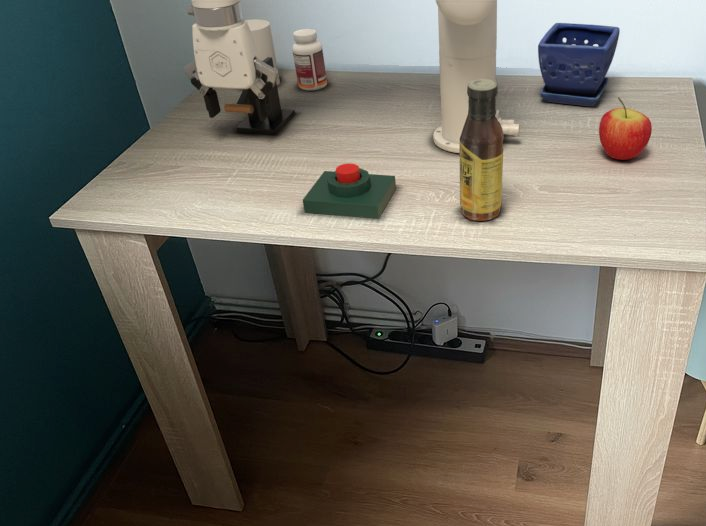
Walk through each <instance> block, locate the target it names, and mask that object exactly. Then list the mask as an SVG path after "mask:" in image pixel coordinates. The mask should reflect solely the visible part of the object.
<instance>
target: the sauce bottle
mask: <svg viewBox="0 0 706 526" xmlns="http://www.w3.org/2000/svg"><path fill="white" fill-rule="evenodd" d="M467 95H468V97H469V100H468V103H469V109H468V115H467V118H466V121H465V124H464V127H463V130H462V133H461V136H460V146H459V148H460V153H459V204H460V212H461V214H462V215H463V216H464V217H465V218H467V219H468V220H470V221H479V222H483V221H485V222H486V221H490V220H493V219H496V218H497V217H498V216H499V214H500V212H501V205H502V195H503V172H504V170H503V169H504V167H503V166H504V148H503V147H504V144H503V143H504V139H503V130H502V127H501V125H500V122H498V120H497V118H496V116H495V115H496V110H497V109H496V103H497V96H498V83H497V81H496V82H495V81H493V80H489V79H476V80H473V81H471V82H470V83H468V86H467Z"/></svg>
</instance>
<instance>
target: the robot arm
mask: <svg viewBox="0 0 706 526" xmlns="http://www.w3.org/2000/svg"><path fill="white" fill-rule="evenodd" d="M190 1H191V6H190V5H188V6H187V8H186V12H187V15H188V16H192V17H193V18H194V22H195V23H193V24H192V25H191V27H192V29H191V30H192V32H191V33H192V46H193V47H192V48H193V56H194V60H193V61H192V62H190V63H189V64H187V65H185V66H184V67H183V69H182V71H183V72H184V74H185V75H186V77H187V78H188V80H190V83H191V85H192V86H193V87H195V88H196V90H198V93H199V95H200V96H203V101H204V104H205V109H206V111H207V112H208V113H207V114H208V117H209V118H212V119H214V118H215V117H216V116H218V115H219V114H220V113H221V111H222V110H221V106H220V105H221V104H220V101H219V97H218V92H217V90H216V89H227V90H230V89H231V90H243V89H249V88H250V89H251V90H252V91H253V92H254V93H255V94H256V95H257V96H258V98H257V99H256V105H257V110H258V115H259V120H260V121H264V120H265V119H266V118H267V117H268V116H269V115H270V113H271V108H270V102H269V97H268V93H270V91H271V90H272V88H273V87H274V86H275V84H276V80H277V77H278V74H280V72H279V70H277V69H278V68H277V69H275V68H273V67H271V66H269V65H268V64H266V63H264V62H262V61H261V60H259V57H258V53H257V49H256V46H255V42H254V39H253V36H252V33H251V31H250V28H249V26H248V24H247V21H245V20H244V17H243V11H242V6H241V1H240V0H190ZM435 3H436V5H437V17H438V20H437V21H438V24H437V25H438V57H439V59H438V60H439V61H438V63H439V87H440V89H439V91H440V92H439V93H440V114H441V116H440V117H441V118H440V120H441V125H440V126H438V127H437V128H436V129H435V130H434V132H433V134H432V137H433V143H434V145H435V146H437V147H438V148H439V149H442V150H443V151H446V152H450V153H454V154H460V148H459V146H460V136H461V133H462V130H463V127H464V124H465V121H466V118H467V115H468V109H469V103H468V100H469V97H468V95H467V86H468V83H470V82H471V81H473V80H476V79H489V80H493V81H495V82H496V83H497V48H498V47H497V46H498V45H497V44H498V43H497V41H498V35H497V34H498V0H435ZM261 72H262V73H264V74H265V75H267V77H268V79H267V83H266V84H265V83H264V82H263V80H262V79H261V77H262V73H261ZM495 116H496V118H497V120H498V122H500V125H501V127H502V130H503V140H504V138H505V135H508V136H518V137H519V136H520V130H521V123H516V119H511V118H510V119H503V117H500V109H496V115H495Z"/></svg>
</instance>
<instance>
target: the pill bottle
mask: <svg viewBox="0 0 706 526" xmlns="http://www.w3.org/2000/svg"><path fill="white" fill-rule="evenodd" d="M292 34H293V40H294V42H295V43H293V45H292V47H291V50H292V57H293V61H294V68H295V74H296V78H297V79H296V80H297V81H296V82H297V85H298V88H299V89H301V90H303V91H308V92H310V91H311V92H312V91H318V90H321V89H324V88H325V87H327V86H328V77H327V72H326V65H325V58H324V50H323V45H322V43H321V42H320V41H319V40H317V39H318V35H317V30H316V29H314V28H313V29H312V28H302V29H298V30H295V31H294V32H292Z"/></svg>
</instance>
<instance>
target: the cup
mask: <svg viewBox="0 0 706 526" xmlns="http://www.w3.org/2000/svg"><path fill="white" fill-rule="evenodd" d="M244 21H247V24H248V26H249V28H250V31H251V33H252V36H253V39H254V42H255V46H256V49H257V53H258V57H259V60H261V61H263V60H265V59H266V58H267V57H272V59H273V65H274V68H275V69H277V70H278V63H277V58H276V53H275V46H274V41H273V35H272V29H271V23H270V22H269V21H268V20H265V19H245V20H244ZM278 71H279V70H278ZM279 74H280V73H279ZM279 74H278V77H277V80H276V82H277V86H279V85H280V83H281V81H280V76H279Z"/></svg>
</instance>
